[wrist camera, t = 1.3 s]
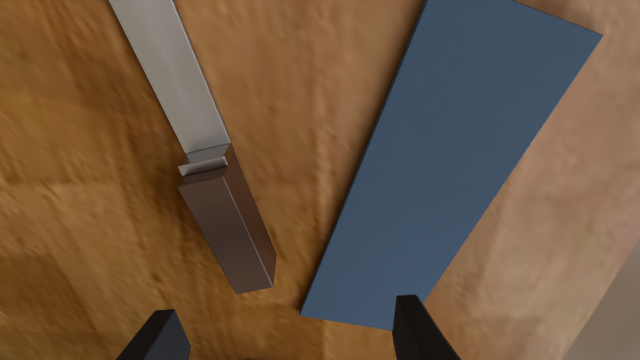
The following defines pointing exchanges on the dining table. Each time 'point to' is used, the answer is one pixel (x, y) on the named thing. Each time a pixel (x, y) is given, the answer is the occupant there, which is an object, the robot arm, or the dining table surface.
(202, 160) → the knife
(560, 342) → the dining table surface
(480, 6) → the mat
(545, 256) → the dining table surface
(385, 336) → the dining table surface
